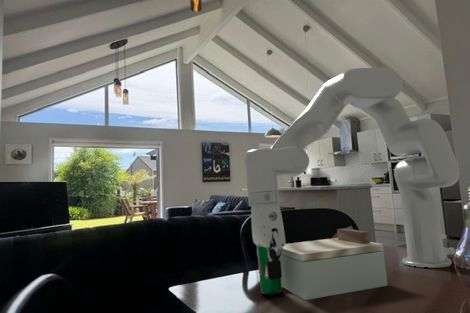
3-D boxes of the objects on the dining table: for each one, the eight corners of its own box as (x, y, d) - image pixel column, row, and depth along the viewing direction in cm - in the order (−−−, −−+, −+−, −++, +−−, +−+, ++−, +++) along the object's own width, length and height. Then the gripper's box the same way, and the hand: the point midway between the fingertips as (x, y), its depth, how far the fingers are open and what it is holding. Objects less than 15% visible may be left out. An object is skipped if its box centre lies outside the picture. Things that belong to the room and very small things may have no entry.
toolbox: (346, 272, 94) (343, 243, 95) (387, 285, 79) (383, 251, 80) (275, 282, 87) (272, 251, 88) (305, 300, 72) (302, 262, 73)
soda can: (268, 297, 75) (263, 243, 76) (256, 292, 80) (252, 241, 81) (286, 292, 78) (281, 240, 79) (274, 287, 82) (270, 238, 83)
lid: (343, 242, 95) (341, 227, 95) (383, 250, 80) (381, 232, 80) (272, 251, 88) (271, 234, 89) (302, 261, 73) (300, 241, 74)
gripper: (293, 197, 74) (301, 281, 72) (264, 198, 90) (270, 267, 88) (262, 200, 72) (269, 287, 70) (238, 200, 88) (243, 271, 86)
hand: (270, 275), depth 79 cm, fingers closed on soda can, 5 cm apart
